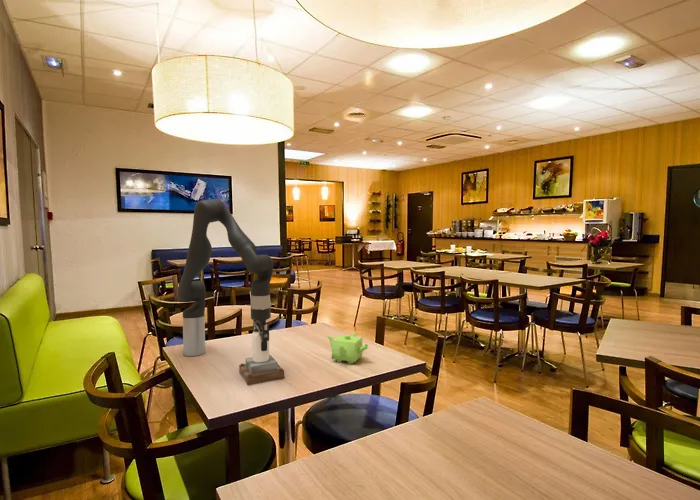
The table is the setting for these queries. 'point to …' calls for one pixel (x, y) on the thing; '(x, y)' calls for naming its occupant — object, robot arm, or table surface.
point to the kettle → (347, 348)
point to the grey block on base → (260, 371)
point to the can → (259, 349)
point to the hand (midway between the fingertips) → (261, 347)
